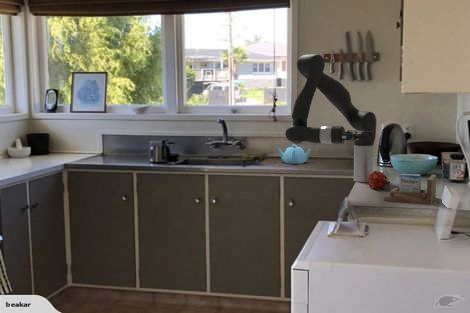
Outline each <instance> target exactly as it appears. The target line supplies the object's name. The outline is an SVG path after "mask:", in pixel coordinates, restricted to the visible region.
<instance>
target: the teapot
mask: <svg viewBox="0 0 470 313" xmlns="http://www.w3.org/2000/svg"><path fill="white" fill-rule="evenodd" d="M277 151H278V154H279V157H280V159H281V160H282V161H283V163H284V164H285V165H286V164H288V165H302V164H304V163H306V161H307V160H308V158H309V155H310V153H311V151H312V148H308V149H307V151H306V152H305V151H304V149H303V148H302V147H300V146H298V144H291V146H289V147H287V148H286V149H285V151H284V152H283V151H282V149H281V147H279V148H277Z"/></svg>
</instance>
